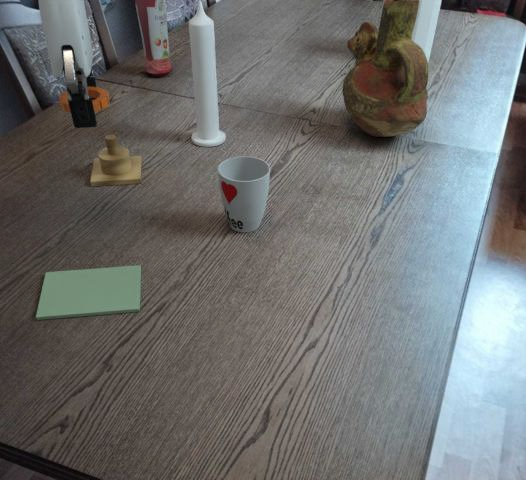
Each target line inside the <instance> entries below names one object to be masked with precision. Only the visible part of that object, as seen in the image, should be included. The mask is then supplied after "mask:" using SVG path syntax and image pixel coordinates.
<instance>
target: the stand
mask: <svg viewBox="0 0 526 480" xmlns="http://www.w3.org/2000/svg"><path fill="white" fill-rule="evenodd" d="M117 138H118V137H117V135H115V134H108V135H105V137H104V141H105V145H106V147H104V148H101V149H100V150H99V151H98V153H97V155H98V157H95V158H93V164H92V167H91V168H92V169H91V174H90V181H89V183H90V187H106V186H108V187H109V186H122V185H139V184H142V178H143V177H142V175H143V174H142V173H143V157H142V155H131V154H130V150H129V149H128V148H127V147H125V146H122V145H119V144H118V139H117Z"/></svg>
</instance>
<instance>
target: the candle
mask: <svg viewBox="0 0 526 480" xmlns="http://www.w3.org/2000/svg"><path fill="white" fill-rule="evenodd" d="M196 10H197V11H196V13H195V15H193V17H192V18H190V19H189V20H188V32H189V33H188V35H189V45H190V59H191V70H192V85H193V96H194V107H195V108H194V109H195V120H196V121H195V122H196V131H194V132H193V133H192V134H191V142H192V143H193V144H194V145H196V146H199V147H204V148H213V147H217V146H220V145H222V144H224V143H225V142H226V139H227V135H226V133H225V132H224V131H222V130H220V120H219V97H218V79H217V60H216V59H217V57H216V43H215V42H216V40H215V22H214V20H213V19H212V18H210V17H209V16H208V15H207V14H206V12H205V10H204V7H203V3H202V0H198V2H197V7H196Z"/></svg>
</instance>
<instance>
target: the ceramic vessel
mask: <svg viewBox="0 0 526 480" xmlns="http://www.w3.org/2000/svg"><path fill="white" fill-rule="evenodd" d="M382 6H383V10H382V9H381V13H382V15H381V14H380V19H381V20H380V19H379V26H378V28H377V26H376V25H375V24H374V23H373V22H371V21H364V22H362V23H361V24H360V26H359V29H358V30H356V31H355V33H354V36H352V37H351V38H349V39H348V40H347V42H346V47H347V49H348V50H349V52H350V53H351V55H353V58H354V61H355V64H354V66H353V67H352V68H351V69H349V71H348V72H347V74H346V76H345V77H344V80H343V83H342V96H343V103H344V106H345V109H346V113H347V114H348V115H349V117H350V118H351V120H353V122H354V123H355V124H356V125H357V126H359V128H360V129H361V130H362V131H363V132H364V133H366V134H368V135H370V136H371V137H372V136H373V137H377V138H378V137H385V138H386V137H394V136H395V137H396V136H399V135H404V134H406V133H410V132H411V131H413V130H415V129H416V128H418V127H419V126H421V125H422V124H423V123H424V122H425V120H426V118H427V116H428V115H427V114H428V106H427V100H428V98H429V97H428V95H429V94H428V89H427V86H428V82H429V81H428V80H429V63H428V61H427V58H426V56H425V53H424V52H423V50H422V48H421V47H420V46H419V45H417V44H416V43H414V42H413V41H412V33H413V29H414V25H415V22H416V18H417V13H418V7H419V0H385V1H384V4H383V3H382Z"/></svg>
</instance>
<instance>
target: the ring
mask: <svg viewBox="0 0 526 480" xmlns="http://www.w3.org/2000/svg"><path fill="white" fill-rule="evenodd" d="M82 89H83V88H82ZM88 92H89V97H92V98H97V99H95V100H92V102H93V107H94V112H95V113H96V112H99V111H101V110H104V109H106V108H107V107H109V105H110V95H109V92H108V91H107V90H106V89H104V88H102V87H98V86H97V87H93V86H92V87H91V86H88ZM58 102H59V106H60V108H61V109H62V110H63V111H64V112H67V113H71V111H70V107H69V103H68V96H67V90H66V89H65V90H64V91H63V92H61V93H60V94H59V96H58Z"/></svg>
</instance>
